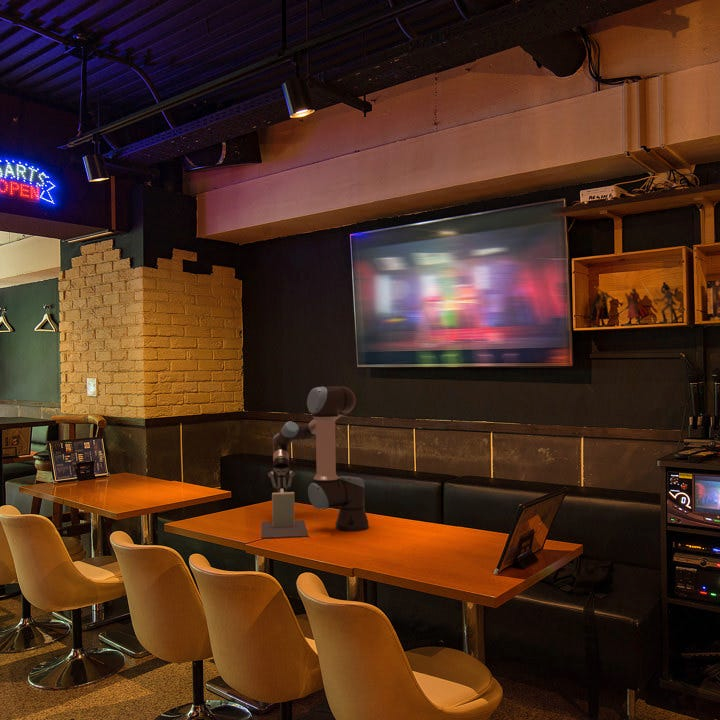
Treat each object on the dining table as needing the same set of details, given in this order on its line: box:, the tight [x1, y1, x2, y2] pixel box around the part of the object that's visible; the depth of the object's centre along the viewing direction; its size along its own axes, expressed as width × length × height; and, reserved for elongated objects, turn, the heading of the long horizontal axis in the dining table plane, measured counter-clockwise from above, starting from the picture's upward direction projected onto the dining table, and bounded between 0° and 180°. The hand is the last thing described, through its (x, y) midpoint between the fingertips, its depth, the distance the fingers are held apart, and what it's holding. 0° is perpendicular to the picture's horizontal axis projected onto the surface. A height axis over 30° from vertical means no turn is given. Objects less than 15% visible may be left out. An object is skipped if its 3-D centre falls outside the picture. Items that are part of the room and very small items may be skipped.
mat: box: [260, 519, 309, 540], centre depth 307 cm, size 30×20×1 cm, turn 8°
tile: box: [271, 491, 295, 527], centre depth 312 cm, size 3×10×15 cm, turn 98°
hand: (282, 501), depth 316 cm, fingers closed
